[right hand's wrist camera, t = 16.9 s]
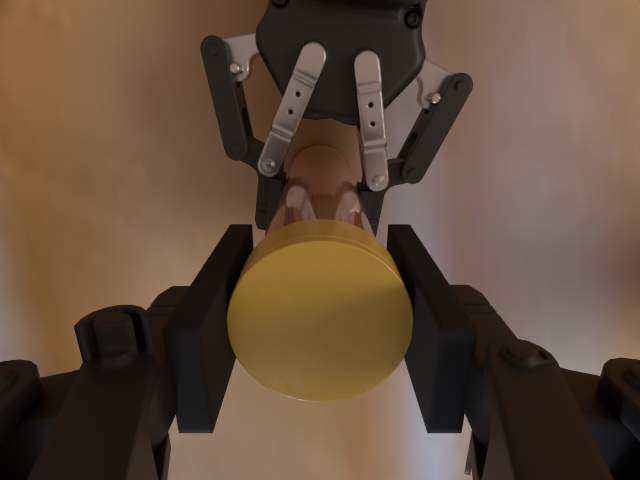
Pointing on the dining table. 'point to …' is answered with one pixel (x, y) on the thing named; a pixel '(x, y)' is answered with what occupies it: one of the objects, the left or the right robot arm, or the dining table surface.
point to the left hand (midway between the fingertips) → (313, 239)
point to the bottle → (320, 191)
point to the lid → (320, 312)
